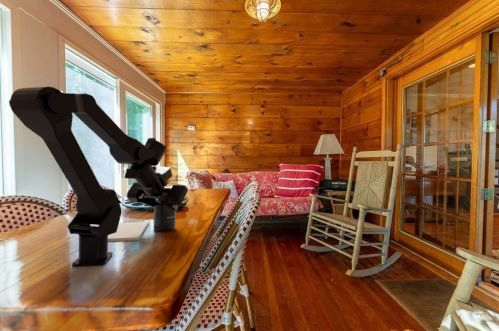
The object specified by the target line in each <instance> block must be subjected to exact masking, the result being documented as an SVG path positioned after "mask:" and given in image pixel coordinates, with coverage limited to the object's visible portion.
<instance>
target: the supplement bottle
mask: <svg viewBox="0 0 499 331" xmlns="http://www.w3.org/2000/svg"><path fill="white" fill-rule="evenodd" d="M167 202H168V201H167V196H161V197H160V198H158V199H157V200H156V202H155V204H154V208H153V209H154V210H153V230H154V231H156V232H160V233H161V232H163V233H164V232H165V231H167V232H172V231H174V230H175V229H176V219H177V218H176V216H177V214H176V213H177V211H176V210H174V209H172V208H171V207H169V206H168V205H166V204H167ZM171 230H172V231H171ZM165 233H166V232H165Z"/></svg>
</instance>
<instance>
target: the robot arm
mask: <svg viewBox="0 0 499 331" xmlns="http://www.w3.org/2000/svg"><path fill="white" fill-rule="evenodd" d="M8 103H9V107H10V109H11V111H12V113H13V114H14V115H15V116H16V117H17V118H18V120H19V121H20V122H21V123H22V124H23V126H25V127H26V128H27V129H28V130H30V131H31V132H32V133H34V134H35V135H37V136H38V137H40V138H41V140H43V142H44V144H45V145H46V147H47V149H48V151H49V152H50V153H51V155H52V157H53V159H54V160H55V162H56V163H57V165H58V167H59V169H60V171H61V172H62V174H63V175H64V177H65V179H66V180H67V182H68V184H69V186H70V187H71V189H72V191H73V192H74V194H75V195H76V204H75V208H76V209H75V210H76V214H75V216H74V217H73V218H72V219H71V221H70V222H69V223H68V225H67V230H68V231H69V234H71V235H78V258H76V259H75V260H74V261H73V262H72V263H71V266H72V267H78V266H79V267H81V266H82V267H83V266H98V265H99V266H100V265H105V264H106V263H107V262H108V261H109V260H110V258H111V257H112V256H113V252H111V251H109V241H108V235H110V234H113V233H116V232H117V228H118V225H119V223H120V220H121V216H122V212H123V211H122V210H123V209H122V206H121V204H122V201H121V200H120V199H119V198H118V195H117V192H116V190H115V189H111V188H103V187H102V186H101V184H100V182H99V181H98V178H97V176H96V175H95V173H94V171H93V168H92V166H91V165H90V163H89V161H88V159H87V158H86V155H85V153H84V152H83V150H82V149H81V148H82V147H81V146H80V144H79V142H78V140H77V138H76V137H75V135H74V132H73V130H72V129H73V128H72V127H73V126H72V125H73V117H74V116H73V115H75V117H77V118H78V120H80V121H81V122H82V123H83V124H84V125H85V126H86V127H87V128H88V129H89V130H91V131H92V132H93V133H94V134H95V135H96V136H97V137H98V138H99V139H101V141H102V142H104V143H105V144H106V145H107V147H108V148H109V149H108V150H109V154H110V156H112V158H113V159H114V160H115V162H116V163H118V164H119V165H130V166H129V167H128V168H126V170H125V171H126V172H125V175H124V179H131V180H133V179H134V180H135V181H136V182H133V183H132V185H131V186H130V188H129V189H128V191H127V193H126V198H127V200H128V201H129V202H136V203H139V204H142V205H144V206H148V207H151V208H153V209H154V204H155V202H156V201H157V200H158V198H160V197H161V196H167V201H168V202H167V204H166V205H168V206H169V207H171V208H172V209H174V210H176V212H177V211H178V209H179V206H181V205H182V204H183V203H184V200H185V198H186V197H187V193H188V192H189V190H188V187H187V186H186V185H185V184H173V185H172V187H171V188H168V187H167V186H168V184H169V183H168V180H170V178H173V173H172V170H171V169H172V168H171V167H170V166H158V165H159V164H160V162H161V160H162V158H163V157H164V155H165V154H166V152H167V146H166V144H165V145H164V144H163V143H162V142H161V141H158V140H156V138H155V137H148V138H147V140H146V142H145V144H144V143H142V142H140V141H139V140H138V139H137V138H134V137H132V136H130V135H128V134H126V133H125V132H124V131H123V129H121V128H120V126H119V125H117V123H116V122H115V121H114V120H113V119H112V118H111V117H110V116H109V114H108V113H106V112H105V110H104V109H103V108H102V107H100V105H99V104H98V103H97V100H96V99H95V97H94V96H92V94H89V93H70V92H67V93H66V92H63V91H62V90H60V89H58V88H56V87H53V86H35V87H33V86H32V87H22V88H18V89H16V90H14V91H13V92H12V94H11V95H10V99H9V100H8ZM96 225H97V226H96Z"/></svg>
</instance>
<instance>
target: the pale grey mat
mask: <svg viewBox="0 0 499 331" xmlns="http://www.w3.org/2000/svg"><path fill="white" fill-rule="evenodd" d="M149 223H150V222H149V221H148V222H147V221H143V222H139V221H138V222H119V225H118V228H117V232H116V233H113V234H110V235H108V242H124V241H125V242H128V241H140V239H141V237H142V236H143V234H144V233H145V231H146V229H147V228H148V226H149V225H150V224H149Z"/></svg>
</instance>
